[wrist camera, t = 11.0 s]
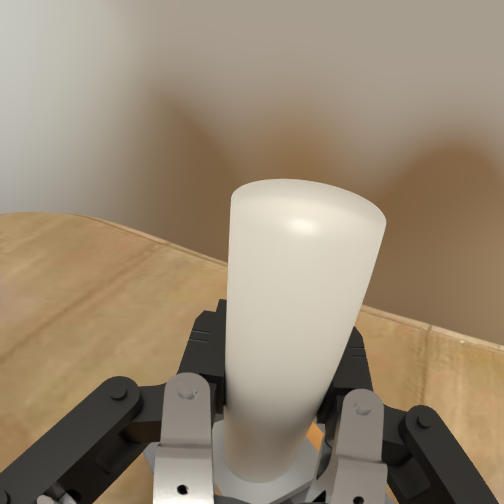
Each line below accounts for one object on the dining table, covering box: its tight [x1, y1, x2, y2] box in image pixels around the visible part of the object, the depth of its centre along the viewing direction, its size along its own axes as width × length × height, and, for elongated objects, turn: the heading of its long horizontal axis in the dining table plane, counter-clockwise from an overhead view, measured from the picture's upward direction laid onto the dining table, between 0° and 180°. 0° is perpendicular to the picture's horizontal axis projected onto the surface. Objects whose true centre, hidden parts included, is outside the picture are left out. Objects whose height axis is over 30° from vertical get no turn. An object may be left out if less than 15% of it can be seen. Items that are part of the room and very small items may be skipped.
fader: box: [212, 179, 386, 504], centre depth 10 cm, size 5×5×14 cm
